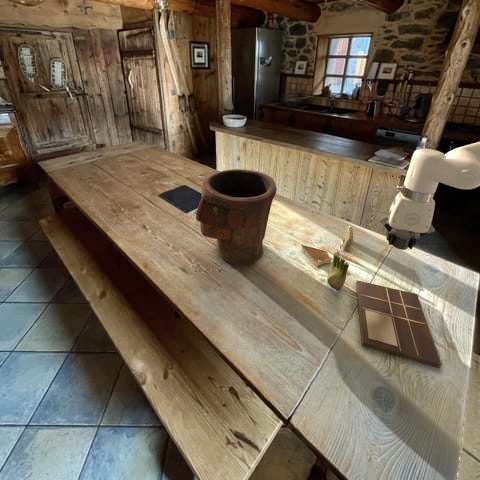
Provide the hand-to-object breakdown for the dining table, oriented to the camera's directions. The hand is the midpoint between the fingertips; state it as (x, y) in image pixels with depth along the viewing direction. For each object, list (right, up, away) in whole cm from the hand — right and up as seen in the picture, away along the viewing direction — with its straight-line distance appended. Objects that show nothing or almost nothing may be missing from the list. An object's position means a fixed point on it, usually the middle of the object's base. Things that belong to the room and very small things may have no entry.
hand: (399, 243), depth 82 cm
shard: (-21, -10, +18) cm, 30 cm away
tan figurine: (-7, -7, +25) cm, 27 cm away
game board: (-5, -21, -4) cm, 22 cm away
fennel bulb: (-18, -16, +7) cm, 25 cm away
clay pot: (-52, -8, +21) cm, 56 cm away
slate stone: (0, 0, 0) cm, 0 cm away
